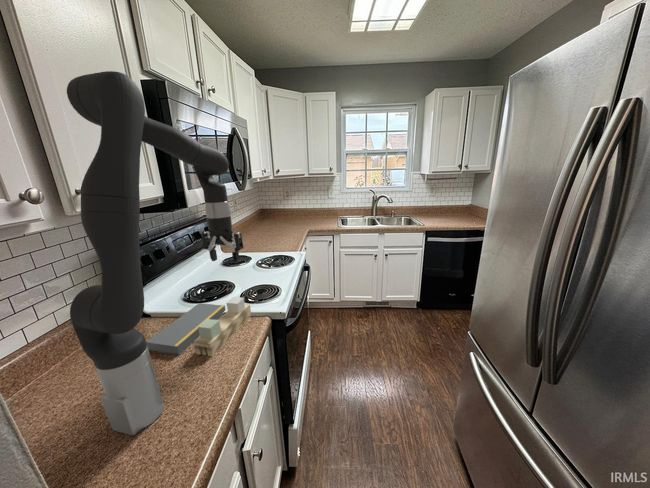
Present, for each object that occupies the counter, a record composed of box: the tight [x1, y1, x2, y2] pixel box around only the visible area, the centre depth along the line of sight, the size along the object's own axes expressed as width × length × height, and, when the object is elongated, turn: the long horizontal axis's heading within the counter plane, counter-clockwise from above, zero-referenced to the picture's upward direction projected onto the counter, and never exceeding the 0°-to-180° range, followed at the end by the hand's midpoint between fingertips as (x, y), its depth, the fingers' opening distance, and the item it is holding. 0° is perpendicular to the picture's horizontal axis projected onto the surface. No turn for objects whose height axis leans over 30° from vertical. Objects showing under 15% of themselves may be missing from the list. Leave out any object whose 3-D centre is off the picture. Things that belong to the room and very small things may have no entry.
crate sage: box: [198, 319, 221, 339], centre depth 83 cm, size 4×4×4 cm
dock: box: [146, 302, 227, 356], centre depth 94 cm, size 25×12×3 cm, turn 166°
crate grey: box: [226, 296, 246, 313], centre depth 97 cm, size 4×4×4 cm
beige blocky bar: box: [193, 303, 252, 357], centre depth 92 cm, size 24×6×5 cm, turn 166°
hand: (225, 261), depth 91 cm, fingers open, 8 cm apart
